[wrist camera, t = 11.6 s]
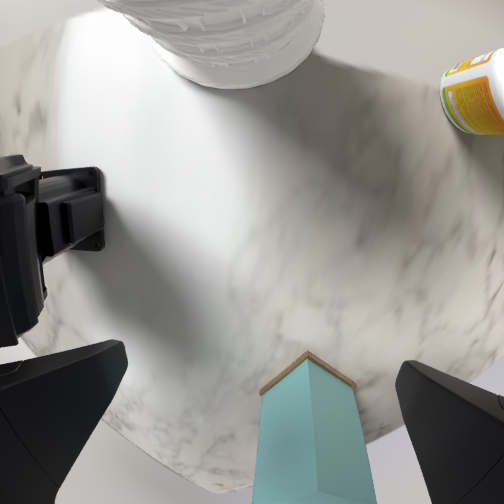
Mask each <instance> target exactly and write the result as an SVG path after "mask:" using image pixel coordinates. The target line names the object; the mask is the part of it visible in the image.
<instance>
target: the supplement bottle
mask: <svg viewBox="0 0 504 504" xmlns="http://www.w3.org/2000/svg"><path fill="white" fill-rule="evenodd" d="M440 97H441V102H442V105H443V108H444V110H445V112H446V114H447V116H448V118H449V119H450V120H451V122H452V123H453V124H454V125H455V126H456V127H458V128H459V129H460V130H462V131H463V132H466V133H468V134H473V135H504V48H502V49H499V50H496V51H492V52H490V53H487V54H484V55H481V56H478V57H476V58H473V59H470V60H468V61H465V62H462V63H460V64H457V65H455V66H453V67H451V68H449V69H448V70H447V71H446V72H445V73H444V75H443V76H442V79H441V83H440Z"/></svg>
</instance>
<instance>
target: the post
mask: <svg viewBox="0 0 504 504" xmlns="http://www.w3.org/2000/svg"><path fill="white" fill-rule="evenodd" d="M306 359H309V360H310V361H312V362H313V363H315V364H316V365H318V366H319V367H321V368H322V369H324V370H325V371H327V372H328V373H330V374H331V375H333V376H334V377H336V378H338V379H339V380H341V381H342V382H344V383H345V384H347V385H348V386H350V387H352V388H353V389H355V388H356V385H355V383H354V382H353V381H351V380H350V379H348V378H347V377H345V376H344V375H342V374H341V373H340V372H338V371H337V370H335V369H334V368H332V367H331V366H329V365H328V364H326V363H325V362H323V361H322V360H320V359H319V358H318V357H316V356H315V355H313V354H312V353H310V352H309V351H307V352H305V353H304V354H303V355H302V356H301V357H300V358H298V359H297V360H296V361H295V362H294V363H293V364H291V365H290V366H289V367H288V368H287V369H285V370H284V371H283V372H282V373H281V374H279V375H278V376H277V377H276V378H274V379H273V380H272V381H271V382H269V383H268V384H267V385H266V386H264V387H263V388H262V389H261V390H260V395H261V396H262V395H263V394H265V393H266V392H267V391H269V390H270V389H271V388H272V387H274V386H275V385H276V384H277V383H279V382H280V381H281V380H282V379H284V378H285V377H286V376H287V375H288V374H290V373H291V372H292V371H293V370H294V369H296V368H297V367H298V366H299V365H300V364H302V363H303V362H304V361H305V360H306Z"/></svg>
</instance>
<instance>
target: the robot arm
mask: <svg viewBox="0 0 504 504" xmlns="http://www.w3.org/2000/svg"><path fill="white" fill-rule="evenodd" d="M92 171H94V176H92ZM42 176H43V179H42ZM103 227H104V222H103V209H102V195H101V192H100V172H99V169H98V168H97V167H83V168H72V169H61V170H52V171H43V172H41V167H34V166H33V165H30V164H28V163H26V161H25V159H24V157H23V155H10V156H4V157H0V348H1V347H8V346H15V345H17V344H18V339H17V338H19V337H20V336H22V335H23V334H24V333H26V332H28V331H30V330H31V329H32V328H33V327H34V326H35V325H36V324H37V323H38V316H39V315H40V313H41V311H42V309H43V307H44V300H45V299H46V297H47V288H46V287H45V283H44V275H43V266H42V265H43V264H45V263H46V262H48V261H50V260H51V259H53V258H55V257H57V256H58V255H60V254H62V253H63V252H65V251H67V250H69V249H72V250H85V251H101V250H102V249H103V248H104V246H105V243H104V233H103ZM97 242H98V243H99V245H100V247H99V246H98V245H97ZM127 367H128V359H127V355H126V351H125V346H124V343H123V342H122V341H118V340H108V341H104V342H100V343H96V344H92V345H88V346H84V347H80V348H75V349H71V350H67V351H63V352H59V353H54V354H50V355H46V356H41V357H37V358H33V359H28V360H24V361H22V360H21V361H17V362H11V363H6V364H1V365H0V504H55V498H56V495H57V492H58V490H59V488H60V487H61V485H62V483H63V482H64V480H65V478H66V476H67V474H68V473H69V471H70V470H71V467H72V466H73V464H74V463H75V461H76V459H77V458H78V456H79V454H80V452H81V451H82V449H83V447H84V446H85V444H86V442H87V440H88V439H89V437H90V435H91V434H92V432H93V431H94V429H95V427H96V426H97V424H98V422H99V421H100V419H101V418H102V416H103V414H104V413H105V411H106V409H107V408H108V406H109V405H110V403H111V401H112V400H113V398H114V396H115V394H116V391H117V389H118V387H119V385H120V383H121V381H122V378H123V376H124V374H125V372H126V370H127ZM395 387H396V391H397V395H398V399H399V403H400V408H401V412H402V416H403V420H404V423H405V425H406V428H407V431H408V434H409V436H410V439H411V442H412V445H413V447H414V450H415V453H416V455H417V459H418V462H419V465H420V467H421V470H422V473H423V477H424V480H425V483H426V486H427V489H428V492H429V496H430V499H431V502H432V504H504V397H503V396H500V395H496V394H494V393H492V392H489V391H487V390H484V389H482V388H479V387H477V386H474V385H472V384H470V383H467V382H465V381H462V380H460V379H458V378H455V377H453V376H451V375H448V374H446V373H443V372H441V371H439V370H436V369H434V368H432V367H429V366H427V365H425V364H422V363H420V362H418V361H415V360H409V361H404V362H403V363H402V365H401V368H400V371H399V373H398V376H397V379H396V383H395Z"/></svg>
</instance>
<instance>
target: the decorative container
mask: <svg viewBox="0 0 504 504" xmlns="http://www.w3.org/2000/svg"><path fill="white" fill-rule="evenodd" d="M97 1H98V2H100V3H102V4H104V5H105V6H106V7H107V8H109V9H112V10H114V11H117V12H120V13H122V14H123V15H124V16H125V17H126V18H127V20H128V21H129V22H130V23H131V24H132V25H133V26H135V27H136V28H138V29H139V30H140V31H141V32H143V33H145V34H147V35H150V36H151V39H152V43H153V46H154V48H155V49H156V51H157V53H158V54H159V56H160V57H161V59H162V60H163V62H165V63H166V64H167V65H168V66H170V67H171V68H172V69H174V70H175V71H176V72H177V73H178V74H180V75H181V76H183V77H184V78H186V79H189V80H191V81H193V82H196V83H198V84H200V85H202V86H207V87H213V88H219V89H225V90H227V89H248V88H252V87H256V86H259V85H263V84H267V83H271V82H273V81H275V80H277V79H278V78H280V77H282V76H284V75H286V74H288V73H290V72H292V71H293V70H294V69H295V68H296V67H297V66H298V65H300V64H301V63H302V62H303V61H304V60H305V59H306V58H307V57H308V56H309V54H310V52H311V51H312V49H313V48H314V46H315V45H316V43H317V42H318V39H319V36H320V33H321V29H322V25H323V21H324V7H323V0H97Z"/></svg>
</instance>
